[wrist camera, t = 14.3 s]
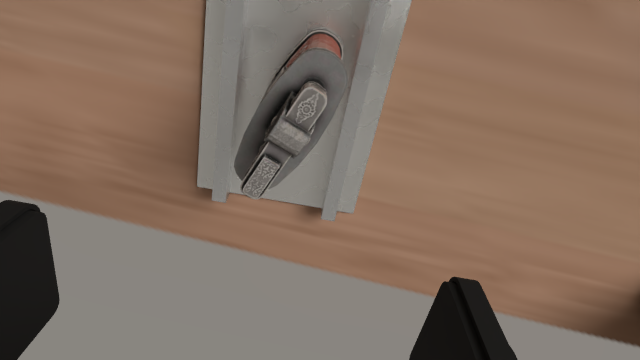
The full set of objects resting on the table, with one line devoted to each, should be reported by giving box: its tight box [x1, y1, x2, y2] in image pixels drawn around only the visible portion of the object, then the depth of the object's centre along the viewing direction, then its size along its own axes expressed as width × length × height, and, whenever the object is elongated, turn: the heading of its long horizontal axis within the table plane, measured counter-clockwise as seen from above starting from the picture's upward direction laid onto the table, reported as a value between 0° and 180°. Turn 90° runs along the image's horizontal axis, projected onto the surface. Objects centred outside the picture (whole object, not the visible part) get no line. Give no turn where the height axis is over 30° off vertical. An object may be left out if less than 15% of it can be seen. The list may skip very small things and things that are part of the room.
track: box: [197, 0, 412, 221], centre depth 25 cm, size 12×18×2 cm, turn 169°
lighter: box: [234, 28, 348, 199], centre depth 22 cm, size 8×3×10 cm, turn 146°
